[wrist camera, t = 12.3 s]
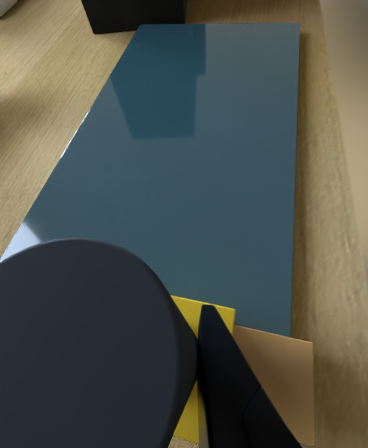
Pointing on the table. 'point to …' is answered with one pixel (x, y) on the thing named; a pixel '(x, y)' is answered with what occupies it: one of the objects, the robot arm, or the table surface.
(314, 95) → the table surface
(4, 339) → the sponge wand
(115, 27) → the speaker
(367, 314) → the table surface
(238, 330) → the tan square block
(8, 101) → the table surface
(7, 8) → the multiport hub
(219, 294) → the plate
